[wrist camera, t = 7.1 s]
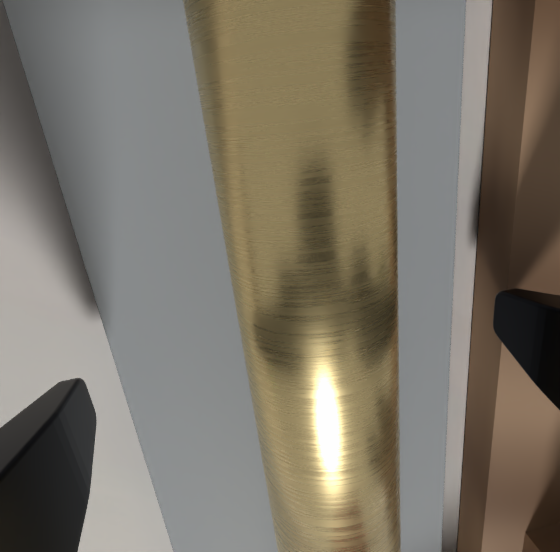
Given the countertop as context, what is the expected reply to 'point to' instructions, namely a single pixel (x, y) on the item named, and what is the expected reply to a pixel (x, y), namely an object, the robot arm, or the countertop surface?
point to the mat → (213, 258)
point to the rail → (312, 251)
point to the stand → (515, 274)
